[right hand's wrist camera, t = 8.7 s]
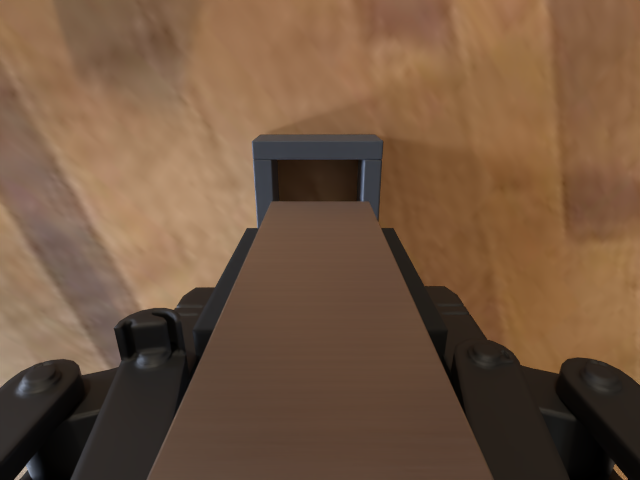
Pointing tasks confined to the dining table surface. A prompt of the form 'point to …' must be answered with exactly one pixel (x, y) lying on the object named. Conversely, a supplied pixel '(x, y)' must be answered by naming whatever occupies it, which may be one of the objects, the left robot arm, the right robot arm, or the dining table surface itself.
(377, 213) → the peg board
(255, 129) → the dining table surface
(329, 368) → the peg
